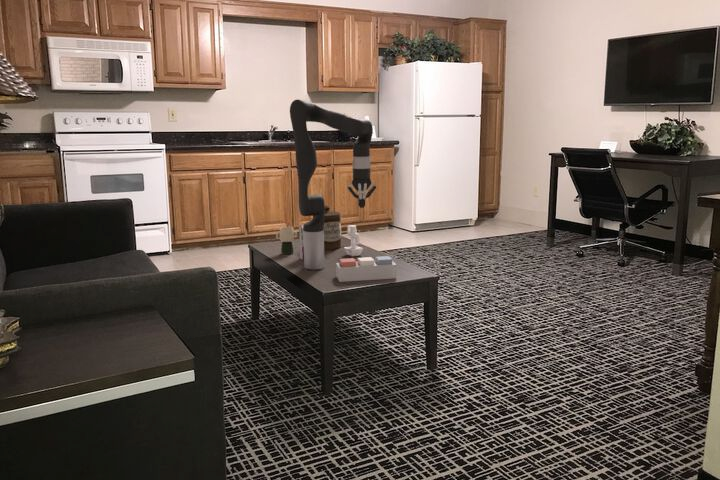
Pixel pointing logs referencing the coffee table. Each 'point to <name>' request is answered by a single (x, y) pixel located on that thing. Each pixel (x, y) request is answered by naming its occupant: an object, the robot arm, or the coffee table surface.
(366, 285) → the coffee table surface
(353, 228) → the figurine
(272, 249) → the coffee table surface
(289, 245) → the character mug
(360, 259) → the cream white block
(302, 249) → the candy bar box
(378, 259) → the blue key
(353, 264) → the red key
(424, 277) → the coffee table surface
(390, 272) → the control box
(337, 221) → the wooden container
